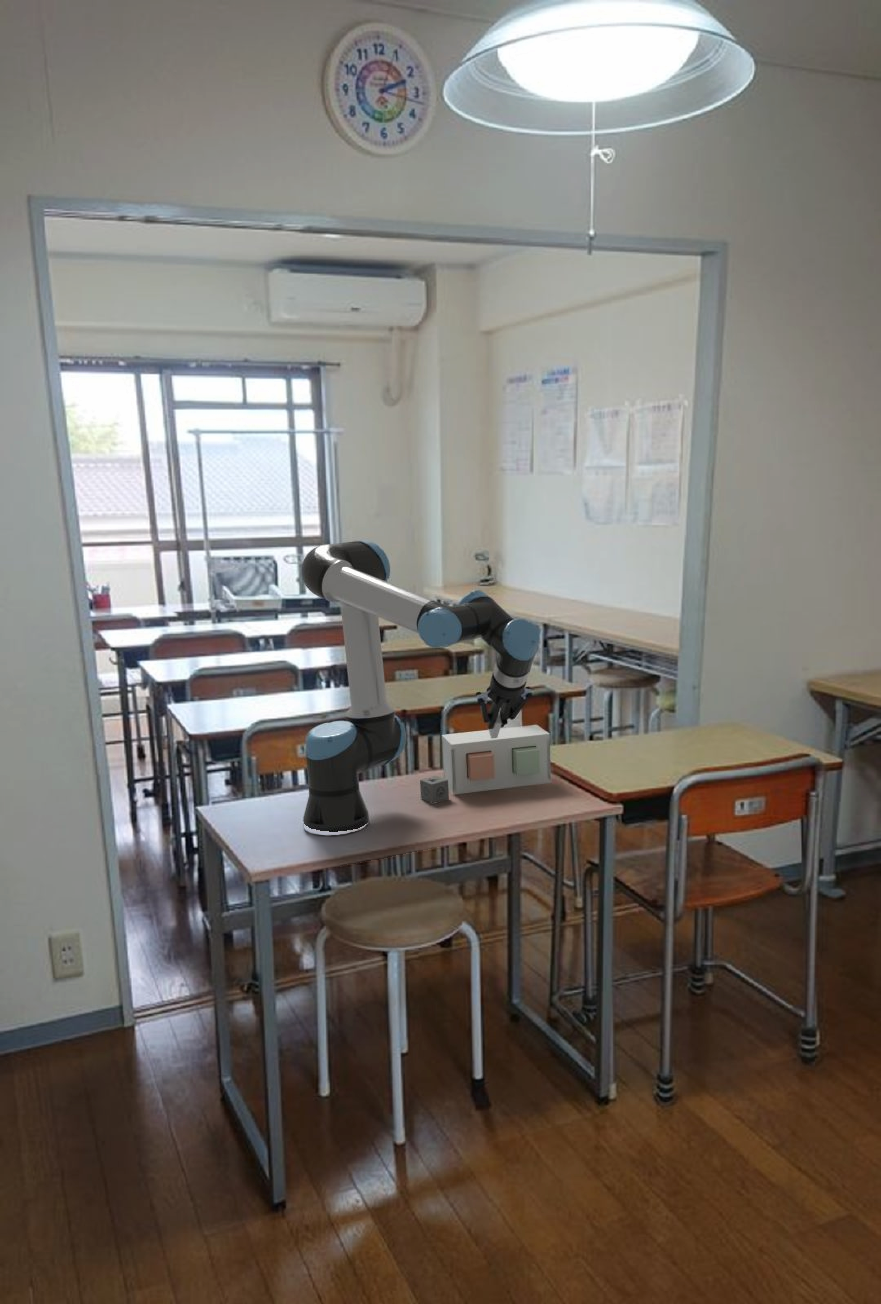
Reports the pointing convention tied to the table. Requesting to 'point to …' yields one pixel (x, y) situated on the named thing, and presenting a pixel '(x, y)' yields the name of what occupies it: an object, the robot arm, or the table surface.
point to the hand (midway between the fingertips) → (492, 733)
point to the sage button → (525, 760)
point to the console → (502, 751)
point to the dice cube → (434, 789)
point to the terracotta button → (480, 765)
